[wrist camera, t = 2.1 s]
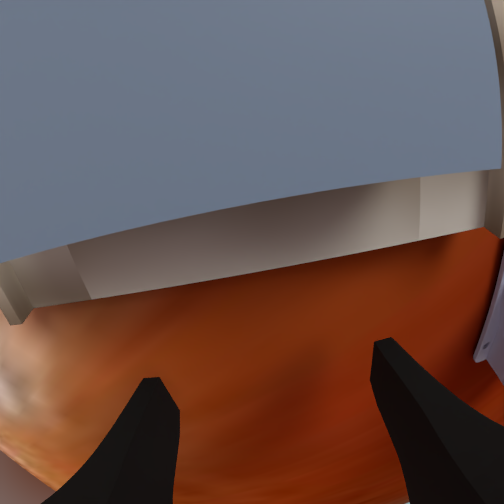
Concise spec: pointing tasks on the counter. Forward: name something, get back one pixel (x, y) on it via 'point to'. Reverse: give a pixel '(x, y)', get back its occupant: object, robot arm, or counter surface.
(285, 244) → the trap tray
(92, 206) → the block
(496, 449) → the robot arm
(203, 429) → the counter surface
